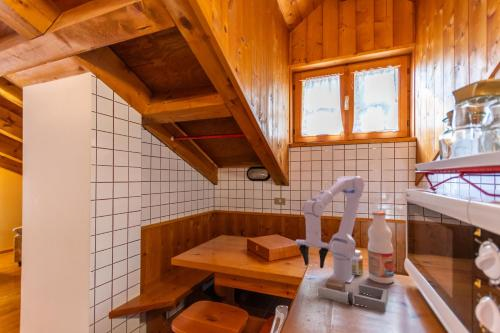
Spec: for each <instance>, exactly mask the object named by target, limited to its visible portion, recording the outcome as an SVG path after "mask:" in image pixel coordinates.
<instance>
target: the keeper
mask: <svg viewBox="0 0 500 333" xmlns="http://www.w3.org/2000/svg"><path fill="white" fill-rule="evenodd" d="M317 297H320V298H324V299H328V300H333V301H336V302H340V303H344V304H347V305H348V306H349V305H351V306H350V307H353V306H354V293H353V292H352V291H348V292H346V291H345V292H341V291H337V290H333V289H328V288H326V287H325V286H324V287H323V286H318V287H317ZM352 305H353V306H352Z"/></svg>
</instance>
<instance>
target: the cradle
mask: <svg viewBox="0 0 500 333" xmlns="http://www.w3.org/2000/svg"><path fill="white" fill-rule="evenodd" d="M358 292H359V294H357V293H353V305H355V304H359V305H363V306H367V307H369V308H368V309H371V308H372V309H371V310H375V311H379V312H383V313H386V311H387V310H386V308H387V304H388V299H389V298H388V296H389V295H388V289H385V288H379V287H378V286H377V287H376V286H373V285H372V286H371V285H367V284H361V283H359V285H358ZM360 293H365V294H368V295H363V294H360ZM369 295H371V296H370V297H369ZM373 296H374V297H373ZM359 305H358V306H359ZM363 306H362V307H363ZM367 307H366V308H367Z"/></svg>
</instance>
